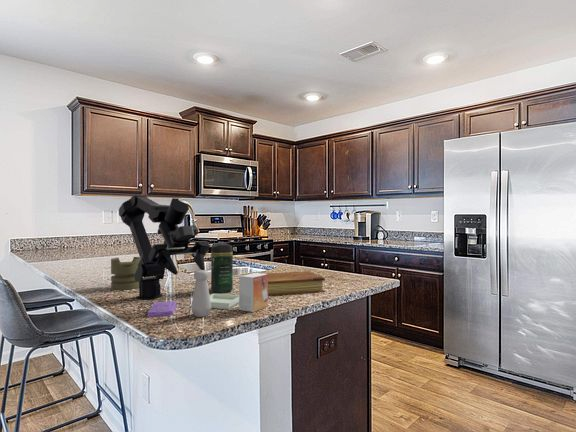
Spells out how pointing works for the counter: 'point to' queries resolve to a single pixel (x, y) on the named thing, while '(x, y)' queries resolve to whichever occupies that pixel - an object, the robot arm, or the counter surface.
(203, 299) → the salt shaker
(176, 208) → the robot arm
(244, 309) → the small box
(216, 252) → the coffee jar
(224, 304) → the tray
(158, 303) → the sponges
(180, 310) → the counter surface
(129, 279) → the piston
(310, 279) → the diary
